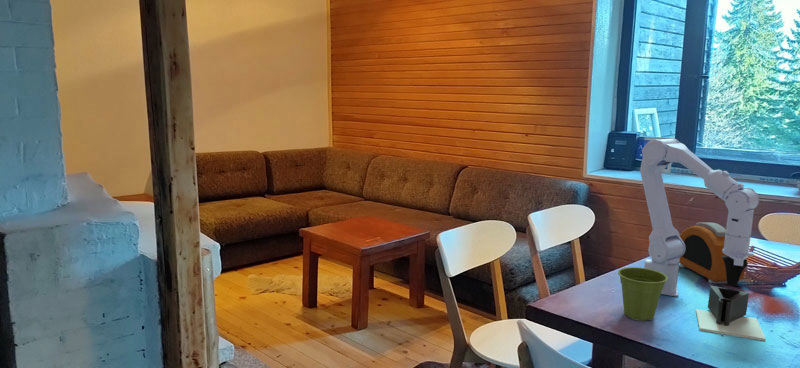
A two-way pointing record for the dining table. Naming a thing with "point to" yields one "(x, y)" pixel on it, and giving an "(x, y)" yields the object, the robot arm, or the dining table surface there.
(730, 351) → the dining table surface
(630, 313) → the plant pot
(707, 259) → the orange tape measure
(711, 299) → the phone stand
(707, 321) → the mat
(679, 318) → the dining table surface
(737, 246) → the robot arm
